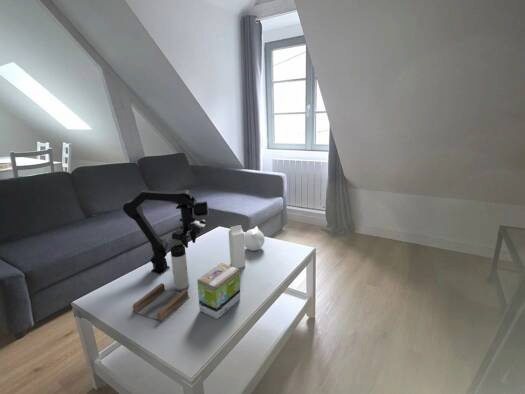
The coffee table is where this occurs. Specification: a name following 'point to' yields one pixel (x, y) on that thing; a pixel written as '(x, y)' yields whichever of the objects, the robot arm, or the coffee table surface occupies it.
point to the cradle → (160, 303)
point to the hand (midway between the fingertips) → (190, 245)
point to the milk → (237, 247)
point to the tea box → (219, 290)
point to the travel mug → (179, 267)
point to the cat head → (253, 239)
